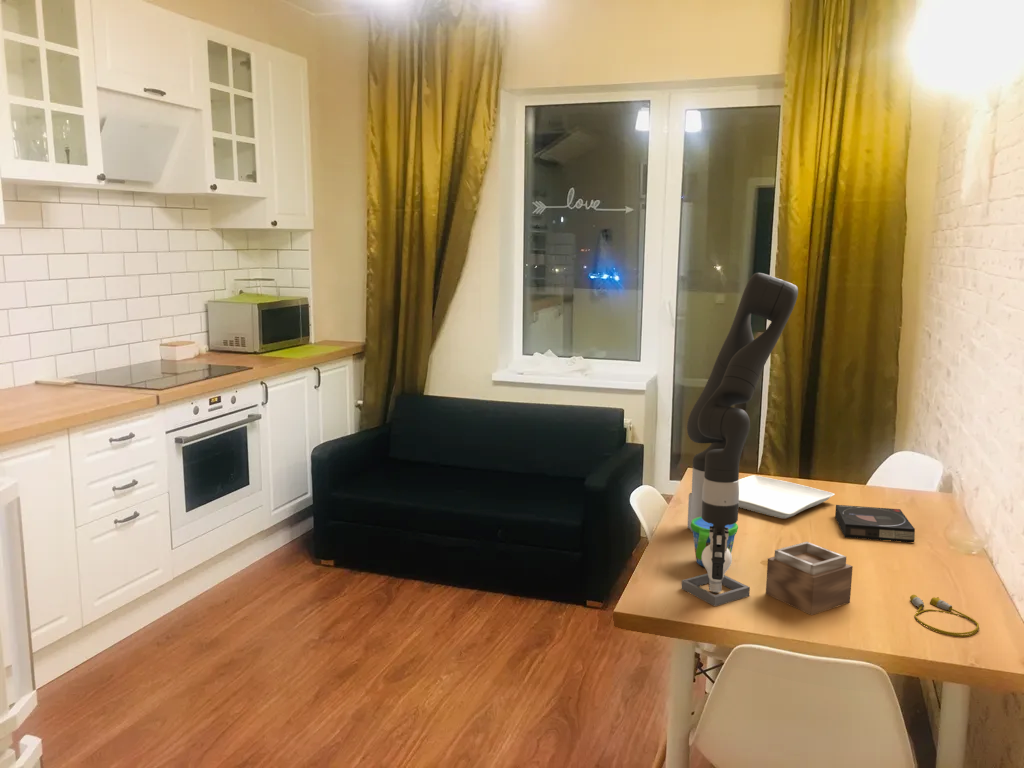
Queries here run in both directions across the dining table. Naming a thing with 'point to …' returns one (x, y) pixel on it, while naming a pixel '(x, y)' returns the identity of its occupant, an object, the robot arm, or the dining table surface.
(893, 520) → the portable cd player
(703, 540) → the snack cup
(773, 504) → the square plate
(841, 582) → the walnut stand
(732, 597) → the frame
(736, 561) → the dining table surface
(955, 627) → the dining table surface
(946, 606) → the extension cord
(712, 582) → the lightbulb
